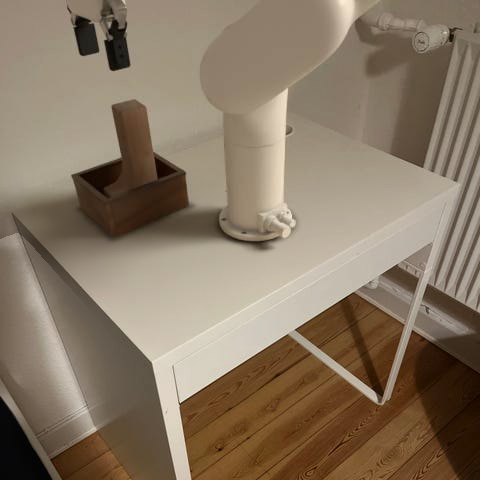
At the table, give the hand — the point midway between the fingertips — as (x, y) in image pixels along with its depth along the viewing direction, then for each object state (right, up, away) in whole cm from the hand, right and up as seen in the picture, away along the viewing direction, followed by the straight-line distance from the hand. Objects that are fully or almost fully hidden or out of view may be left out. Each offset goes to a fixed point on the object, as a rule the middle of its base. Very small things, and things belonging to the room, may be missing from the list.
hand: (104, 61), depth 76 cm
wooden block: (+1, -18, +17) cm, 25 cm away
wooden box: (+1, -18, +17) cm, 25 cm away
